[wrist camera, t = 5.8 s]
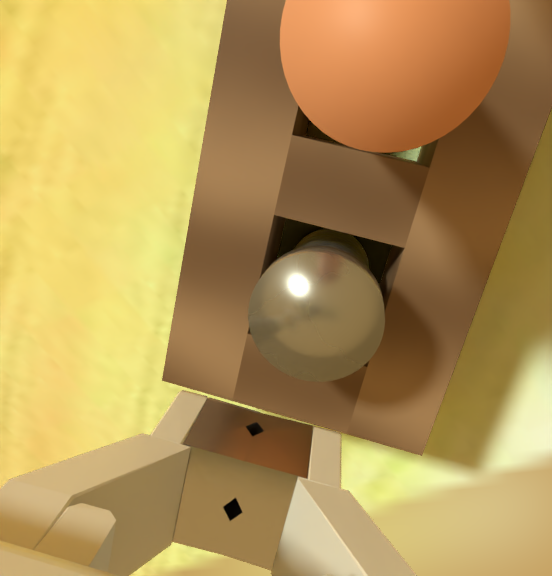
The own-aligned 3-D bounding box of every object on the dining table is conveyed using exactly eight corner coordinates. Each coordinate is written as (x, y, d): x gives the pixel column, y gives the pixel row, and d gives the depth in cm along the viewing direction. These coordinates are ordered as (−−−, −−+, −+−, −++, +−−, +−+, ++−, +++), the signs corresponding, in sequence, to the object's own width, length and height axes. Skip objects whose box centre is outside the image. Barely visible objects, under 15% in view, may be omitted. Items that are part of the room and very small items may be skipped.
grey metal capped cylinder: (363, 325, 21) (363, 397, 15) (270, 300, 22) (236, 361, 16) (391, 232, 20) (402, 272, 14) (292, 208, 20) (263, 236, 14)
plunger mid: (426, 160, 15) (465, 174, 10) (298, 130, 16) (259, 125, 10) (471, 15, 14) (547, -71, 8) (330, -14, 14) (309, -117, 9)
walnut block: (411, 401, 22) (422, 455, 19) (195, 340, 23) (162, 380, 19) (660, -306, 15) (762, -458, 11) (326, -356, 16) (314, -512, 12)
